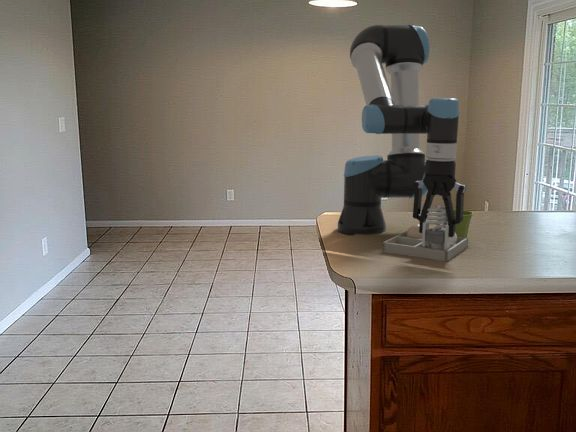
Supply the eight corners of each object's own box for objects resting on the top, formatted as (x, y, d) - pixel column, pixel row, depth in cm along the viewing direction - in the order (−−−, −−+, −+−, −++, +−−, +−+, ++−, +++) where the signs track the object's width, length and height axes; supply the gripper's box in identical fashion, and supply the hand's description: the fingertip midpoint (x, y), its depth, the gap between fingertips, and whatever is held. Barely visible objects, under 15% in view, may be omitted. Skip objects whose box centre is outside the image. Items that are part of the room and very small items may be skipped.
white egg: (432, 248, 165) (433, 228, 164) (439, 244, 169) (440, 225, 168) (452, 251, 162) (454, 231, 161) (459, 247, 166) (460, 227, 165)
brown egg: (403, 244, 169) (404, 225, 168) (410, 240, 174) (411, 221, 173) (422, 247, 166) (423, 227, 165) (429, 243, 171) (430, 224, 170)
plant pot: (433, 241, 176) (434, 212, 174) (447, 235, 183) (448, 207, 181) (463, 246, 170) (465, 216, 168) (476, 240, 177) (478, 211, 175)
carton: (382, 253, 162) (382, 242, 161) (407, 240, 176) (407, 230, 176) (446, 263, 152) (447, 251, 152) (467, 249, 167) (468, 238, 166)
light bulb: (442, 253, 154) (445, 208, 152) (421, 250, 157) (424, 205, 155) (449, 249, 159) (452, 204, 157) (428, 246, 162) (431, 202, 160)
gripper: (401, 158, 155) (397, 245, 160) (472, 162, 146) (466, 255, 150) (412, 156, 161) (408, 239, 166) (481, 160, 152) (474, 248, 156)
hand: (435, 246), depth 158 cm, fingers closed on light bulb, 5 cm apart
